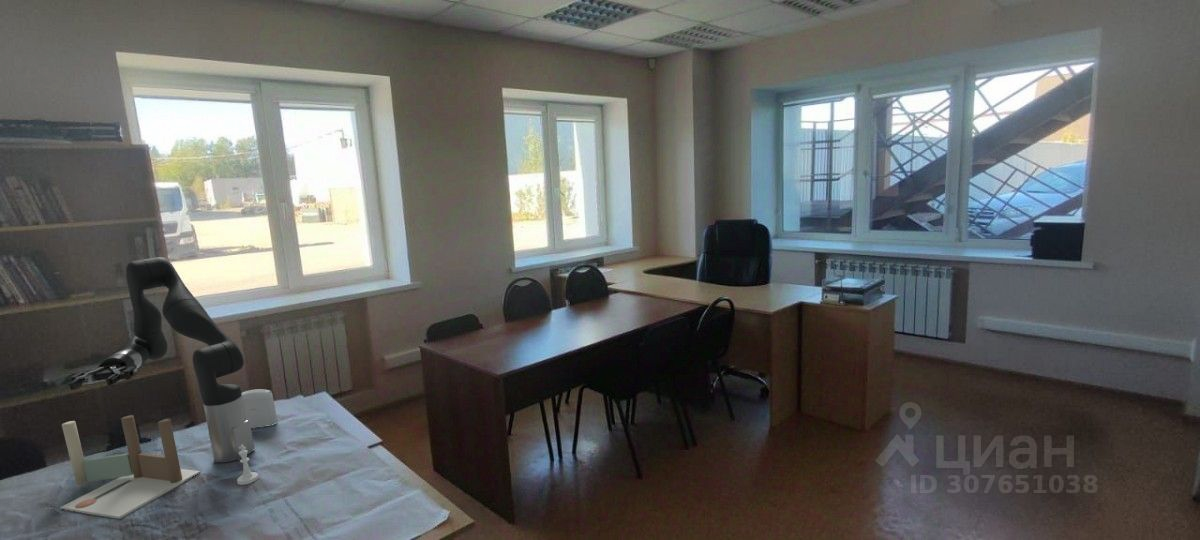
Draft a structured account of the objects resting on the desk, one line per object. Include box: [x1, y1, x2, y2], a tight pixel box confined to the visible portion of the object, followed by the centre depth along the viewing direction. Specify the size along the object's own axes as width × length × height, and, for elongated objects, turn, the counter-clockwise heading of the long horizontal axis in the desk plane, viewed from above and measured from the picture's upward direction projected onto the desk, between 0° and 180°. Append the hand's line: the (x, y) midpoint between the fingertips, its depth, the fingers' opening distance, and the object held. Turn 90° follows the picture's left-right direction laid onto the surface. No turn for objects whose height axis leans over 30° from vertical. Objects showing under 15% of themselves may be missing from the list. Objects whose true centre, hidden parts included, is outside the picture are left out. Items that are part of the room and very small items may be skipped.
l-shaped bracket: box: [61, 420, 133, 486], centre depth 149 cm, size 13×3×17 cm, turn 105°
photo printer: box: [241, 388, 278, 429], centre depth 180 cm, size 10×4×12 cm, turn 100°
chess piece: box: [236, 445, 260, 486], centre depth 148 cm, size 5×5×10 cm
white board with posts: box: [60, 414, 201, 520], centre depth 144 cm, size 20×20×18 cm
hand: (90, 384), depth 156 cm, fingers open, 8 cm apart
